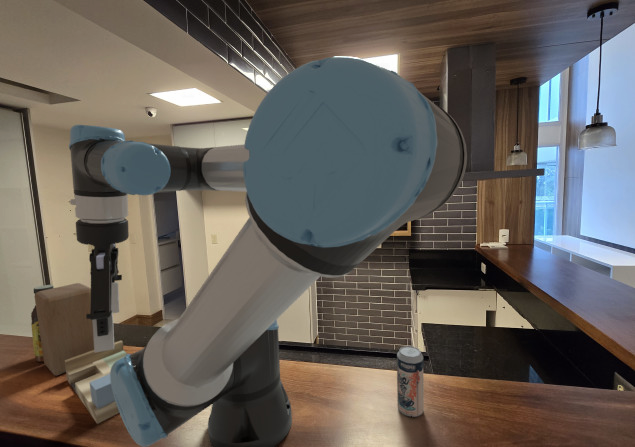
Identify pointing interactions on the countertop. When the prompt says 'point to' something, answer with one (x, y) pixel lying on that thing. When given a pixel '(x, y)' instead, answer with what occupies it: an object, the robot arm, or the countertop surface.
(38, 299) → the block
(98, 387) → the cube
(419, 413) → the beer can
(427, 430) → the countertop surface
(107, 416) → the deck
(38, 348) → the sauce bottle
